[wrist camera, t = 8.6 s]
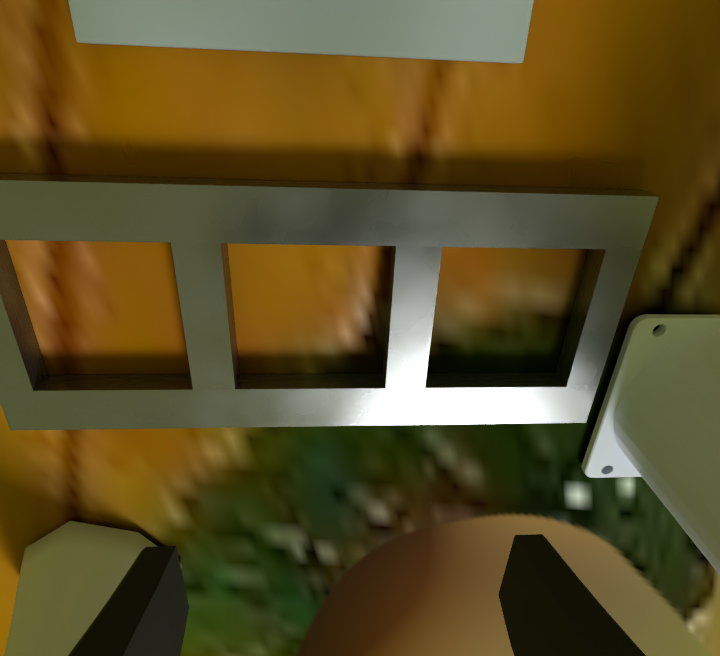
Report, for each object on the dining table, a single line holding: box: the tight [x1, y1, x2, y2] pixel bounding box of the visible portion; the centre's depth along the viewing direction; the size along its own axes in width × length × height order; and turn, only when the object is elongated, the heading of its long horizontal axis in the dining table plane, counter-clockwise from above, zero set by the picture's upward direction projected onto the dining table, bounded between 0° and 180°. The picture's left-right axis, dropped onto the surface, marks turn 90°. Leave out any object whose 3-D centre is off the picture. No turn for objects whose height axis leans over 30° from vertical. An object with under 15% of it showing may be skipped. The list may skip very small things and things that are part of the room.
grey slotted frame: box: [0, 173, 659, 430], centre depth 17 cm, size 22×9×1 cm, turn 88°
